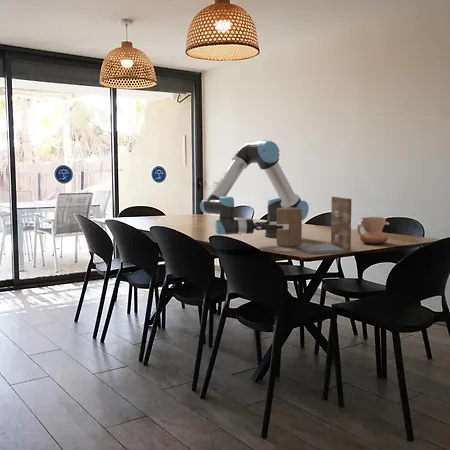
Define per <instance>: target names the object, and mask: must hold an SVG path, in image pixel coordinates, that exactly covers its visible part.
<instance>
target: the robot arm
mask: <svg viewBox="0 0 450 450" xmlns="http://www.w3.org/2000/svg"><path fill="white" fill-rule="evenodd" d="M231 160H232V161H231V163H230V164H229V166H228V168H227V169H226V171H225V172H224V174H223V175H222V177H221V178H220V179H219V181H218V182H217V184H216V185H215V187H214V189H213V190H212V191H211V193H210V195H209V196H208V198H205V199H203V200H201V202H200V204H199V208H200V210H201V212H202V213H204V214H211V215H219V219H217V220H216V221H215V224H214V226H215V227H214V229H215V233H216V234H217V235H224V236H225V235H239V236H241V235H242V234H248V235H249V234H254V232H255V231H265V232H264V236H265V238H276V239H277V230H287V229H289V224H277V208H286V207H293V208H301V209H302V221H304V220H305V219H306V218H307V217H308V215H309V210H310V209H309V204H308V202H307V201H306V200H302V199H301V198H300V196H299V194H297V193H295V192H294V190H293V188H292V186H291V185H290V182H289V180H288V179H287V177H286V175H285V173H284V170H282V167H281V165H280V163H279V161H280V148H279V146H278V145H277V143H276V142H274V141H272V140H261V141H257V140H256V141H248V142H246V143H245V144H243V145H242V146H241V147H240V148H239V149H238V150H237V151H236V152H235V153H234V155H233V157H232V158H231ZM251 164H257V165H258V167H259V169H260V170H263V171H264V172H265V174H266V175H267V178H268V180H269V181H270V183H271V185H272V186H273V188H274V190H275V192H276V194H277V196H278V197H277V198H270V199H268V201H267V220H266V221H259V222H258V221H255V222H254V219H252V218H250V219H249V218H248V219H247V218H246V219H244V218H243V219H242V218H240V219H239V218H237V219H235V199H234V197H233V196H228V194H229V192H230V191H231V190H232V188H233V187H234V185H235V183H236V181H237V180H238V179H239V177H240V176H241V174H242V173H243V171H244V170H245V169H247V168H248V167H249V166H250V165H251Z"/></svg>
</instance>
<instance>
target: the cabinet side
mask: <svg viewBox="0 0 450 450" xmlns="http://www.w3.org/2000/svg"><path fill="white" fill-rule="evenodd" d="M330 215H331V216H330V217H331V218H330V220H331V222H330V225H331V227H330V229H331V230H330V232H331V233H330V245H331V244H332V245H335V246H337V247H340V248H343V249H346V253H345V254H351V252H352V251H351V249H352V247H351V245H352V244H351V243H352V198H347V197H341V196H340V197H339V196H331V214H330Z"/></svg>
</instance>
